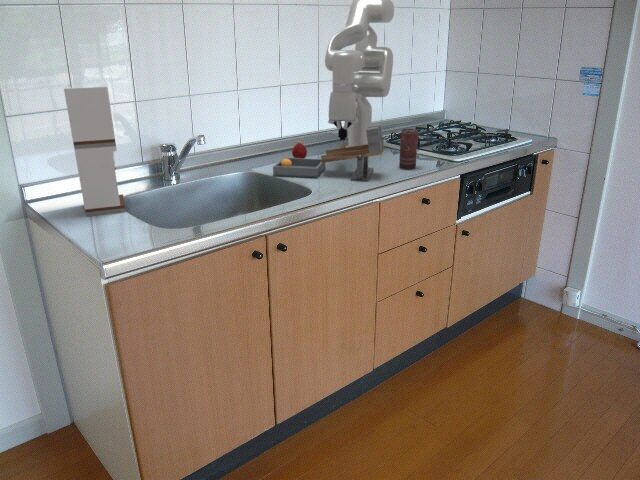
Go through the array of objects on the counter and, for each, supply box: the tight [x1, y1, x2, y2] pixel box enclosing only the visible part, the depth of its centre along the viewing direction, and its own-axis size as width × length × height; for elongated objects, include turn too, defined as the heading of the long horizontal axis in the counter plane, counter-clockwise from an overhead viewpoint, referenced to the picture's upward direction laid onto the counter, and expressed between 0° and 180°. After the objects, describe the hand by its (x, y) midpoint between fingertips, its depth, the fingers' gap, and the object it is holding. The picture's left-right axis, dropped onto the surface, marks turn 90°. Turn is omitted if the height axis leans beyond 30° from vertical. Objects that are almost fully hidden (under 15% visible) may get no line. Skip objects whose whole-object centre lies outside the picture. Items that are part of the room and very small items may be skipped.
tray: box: [272, 157, 327, 179], centre depth 198 cm, size 14×16×4 cm
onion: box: [291, 140, 308, 158], centre depth 213 cm, size 6×6×8 cm
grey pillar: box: [63, 82, 126, 217], centre depth 155 cm, size 11×11×35 cm
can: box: [398, 128, 419, 171], centre depth 201 cm, size 6×6×14 cm
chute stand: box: [350, 154, 375, 182], centre depth 193 cm, size 15×6×9 cm, turn 168°
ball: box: [281, 158, 292, 167], centre depth 199 cm, size 4×4×4 cm
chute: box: [320, 123, 385, 163], centre depth 195 cm, size 17×21×9 cm
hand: (342, 139), depth 203 cm, fingers closed
